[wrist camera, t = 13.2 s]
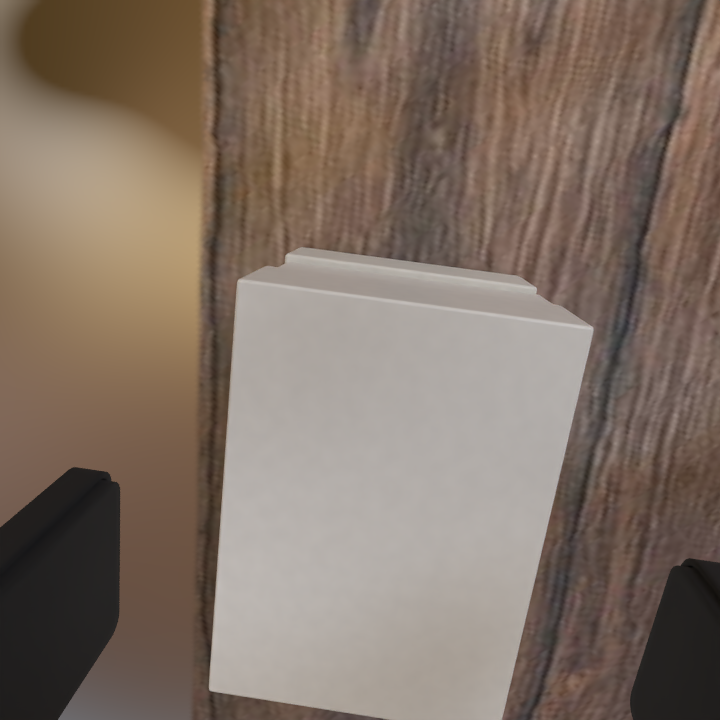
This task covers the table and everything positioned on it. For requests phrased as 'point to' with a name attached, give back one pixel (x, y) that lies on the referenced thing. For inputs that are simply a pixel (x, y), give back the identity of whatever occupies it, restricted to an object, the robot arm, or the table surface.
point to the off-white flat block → (386, 491)
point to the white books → (412, 273)
